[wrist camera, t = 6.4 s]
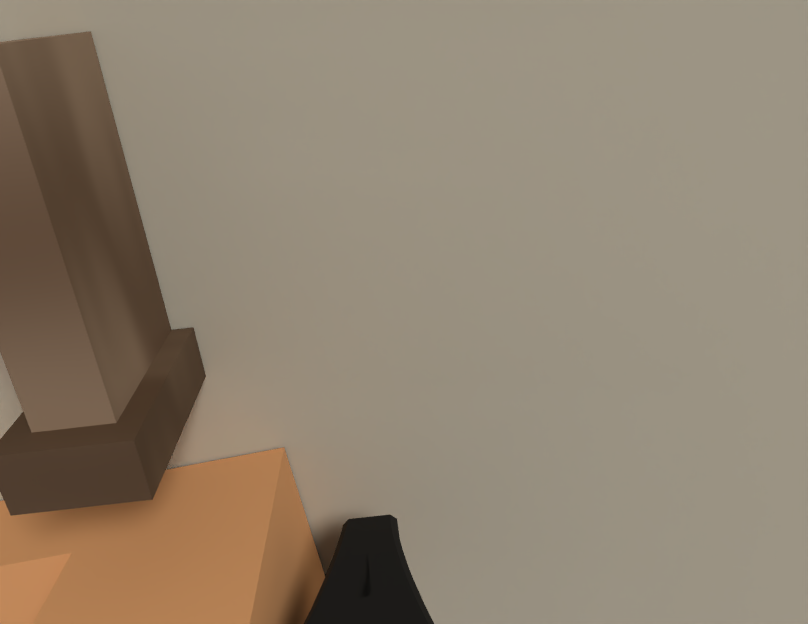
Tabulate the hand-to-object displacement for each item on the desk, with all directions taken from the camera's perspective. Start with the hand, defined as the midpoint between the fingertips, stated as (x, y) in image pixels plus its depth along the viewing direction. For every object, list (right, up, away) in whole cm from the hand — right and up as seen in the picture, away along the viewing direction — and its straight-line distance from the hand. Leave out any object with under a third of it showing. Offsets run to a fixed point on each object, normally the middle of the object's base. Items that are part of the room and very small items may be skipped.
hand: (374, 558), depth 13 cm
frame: (-3, -3, +3) cm, 5 cm away
